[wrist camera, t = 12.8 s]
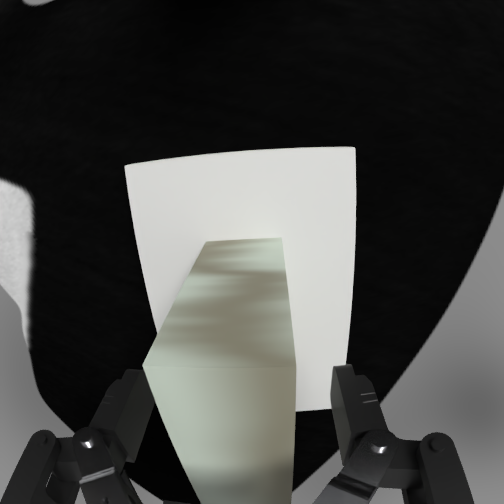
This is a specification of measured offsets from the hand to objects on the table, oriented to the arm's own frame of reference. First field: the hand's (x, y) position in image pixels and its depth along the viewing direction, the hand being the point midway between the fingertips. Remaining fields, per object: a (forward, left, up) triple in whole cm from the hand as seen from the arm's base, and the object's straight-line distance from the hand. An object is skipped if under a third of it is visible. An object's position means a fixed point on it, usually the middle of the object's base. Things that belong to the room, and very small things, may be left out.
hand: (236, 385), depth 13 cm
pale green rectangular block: (0, 0, -6) cm, 6 cm away
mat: (0, 0, -7) cm, 7 cm away
